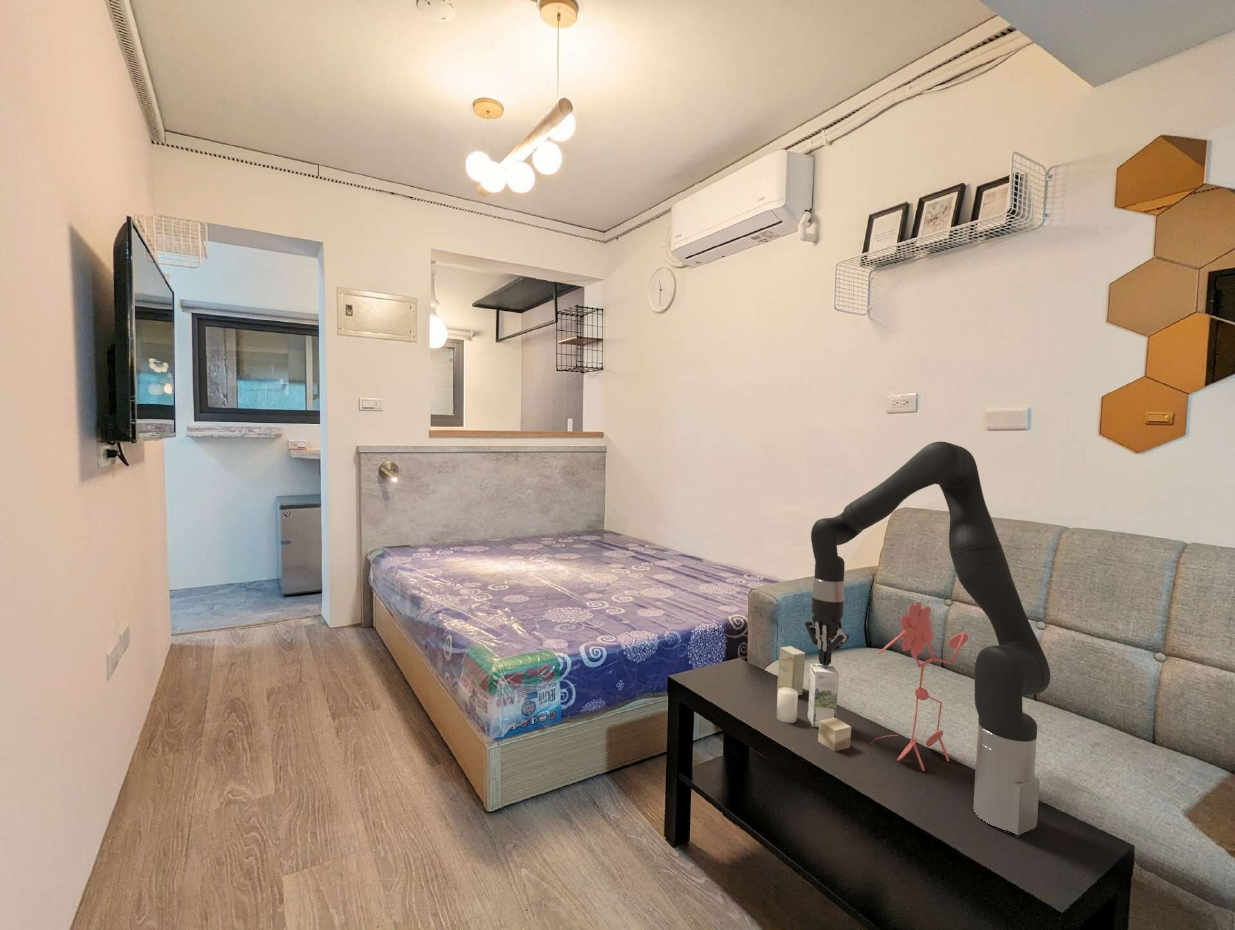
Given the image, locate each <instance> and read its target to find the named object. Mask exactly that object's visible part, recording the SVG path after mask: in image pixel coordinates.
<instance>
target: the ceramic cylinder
mask: <svg viewBox="0 0 1235 930" xmlns="http://www.w3.org/2000/svg"><path fill="white" fill-rule="evenodd" d="M776 696H777V698H776V699H777V700H776V702H777V703H776V719H778V721H780V722H783V723H786V724H793V723H796V722H797V719H798V703H799V701H798V699H799V695H798V692H797V691H796V690H794V689H791V688H786V687H782V688H779V689H778V688H777V695H776Z"/></svg>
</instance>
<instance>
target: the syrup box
mask: <svg viewBox="0 0 1235 930" xmlns="http://www.w3.org/2000/svg"><path fill="white" fill-rule="evenodd" d="M839 677H840V675H839V672H838V670H837V669H836V667H835V666H834V665H833V664H830V665H827V666H824V665H822V664H820V663H814V662H813V663H810V667H809V682H808V683H809V685H808V702H807V703H808V705H807V714H806V715H807V719H808V720H809V723H810V724H811V726H812V727H813V728H818V729H819V721H821V720H825V719H830V718H834V717H835V718H837V712H838V711H837V710H838V709H837V708H838V693H839V679H840V678H839Z"/></svg>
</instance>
